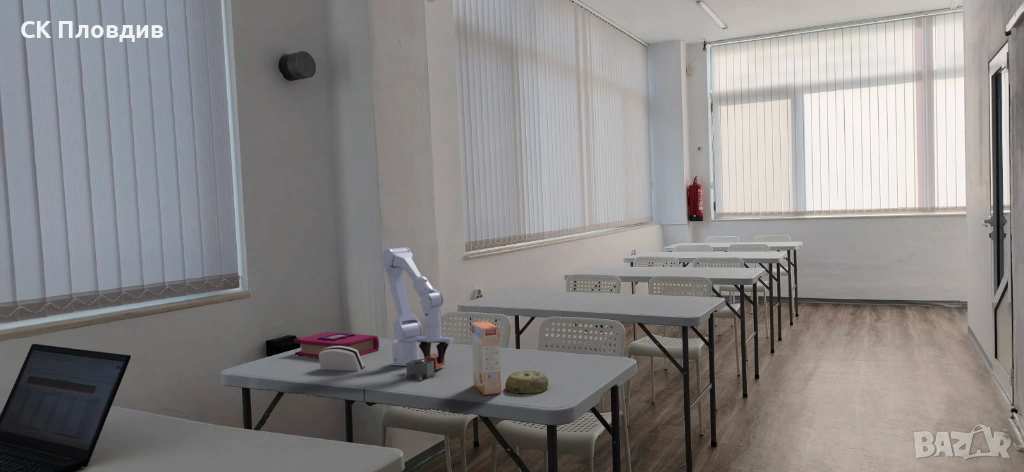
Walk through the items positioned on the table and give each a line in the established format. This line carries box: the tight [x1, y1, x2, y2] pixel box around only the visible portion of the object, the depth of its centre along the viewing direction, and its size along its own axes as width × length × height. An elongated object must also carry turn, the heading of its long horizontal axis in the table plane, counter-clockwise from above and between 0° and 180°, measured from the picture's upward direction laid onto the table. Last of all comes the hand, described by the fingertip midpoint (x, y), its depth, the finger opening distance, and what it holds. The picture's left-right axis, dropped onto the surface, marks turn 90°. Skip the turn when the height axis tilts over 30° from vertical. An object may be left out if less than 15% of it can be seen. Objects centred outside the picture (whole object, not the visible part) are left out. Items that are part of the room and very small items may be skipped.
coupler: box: [403, 358, 442, 382], centre depth 246 cm, size 19×8×6 cm, turn 158°
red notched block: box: [423, 353, 446, 370], centre depth 253 cm, size 5×7×4 cm, turn 158°
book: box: [293, 331, 380, 359], centre depth 289 cm, size 21×28×8 cm
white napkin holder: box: [318, 346, 366, 372], centre depth 259 cm, size 17×5×10 cm, turn 71°
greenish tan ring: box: [505, 370, 549, 395], centre depth 221 cm, size 14×14×5 cm
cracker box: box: [470, 320, 502, 396], centre depth 222 cm, size 14×6×21 cm, turn 17°
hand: (434, 362), depth 253 cm, fingers closed on red notched block, 5 cm apart
